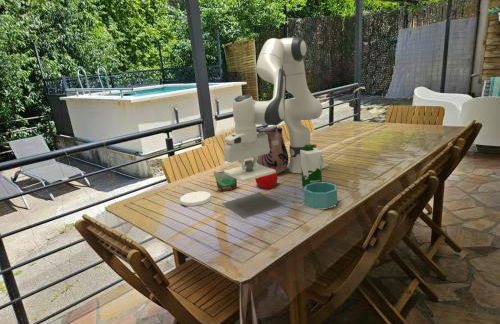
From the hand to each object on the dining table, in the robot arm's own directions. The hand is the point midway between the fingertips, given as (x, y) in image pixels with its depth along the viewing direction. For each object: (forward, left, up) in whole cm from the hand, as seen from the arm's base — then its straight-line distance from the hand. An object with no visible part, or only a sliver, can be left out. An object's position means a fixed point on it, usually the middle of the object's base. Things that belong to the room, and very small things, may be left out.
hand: (249, 168), depth 144 cm
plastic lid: (+17, -22, -17) cm, 33 cm away
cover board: (0, 0, -2) cm, 2 cm away
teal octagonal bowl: (-23, +18, -17) cm, 34 cm away
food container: (-1, -24, -17) cm, 30 cm away
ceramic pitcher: (-32, -33, -17) cm, 49 cm away
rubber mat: (0, 0, -17) cm, 17 cm away
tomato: (-18, -15, -17) cm, 29 cm away
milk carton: (-33, +1, -17) cm, 37 cm away
